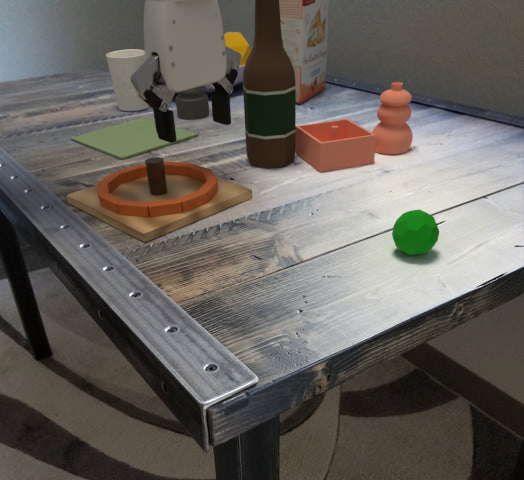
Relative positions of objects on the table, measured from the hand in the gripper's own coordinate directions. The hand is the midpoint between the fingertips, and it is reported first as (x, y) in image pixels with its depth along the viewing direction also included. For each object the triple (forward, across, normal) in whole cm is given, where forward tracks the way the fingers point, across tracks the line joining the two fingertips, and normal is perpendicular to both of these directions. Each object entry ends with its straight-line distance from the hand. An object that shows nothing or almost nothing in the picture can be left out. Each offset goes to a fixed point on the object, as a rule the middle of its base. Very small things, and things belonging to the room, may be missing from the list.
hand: (195, 131), depth 79 cm
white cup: (+8, -19, -43) cm, 48 cm away
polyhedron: (+8, -3, +34) cm, 35 cm away
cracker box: (+8, -47, -22) cm, 52 cm away
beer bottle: (+8, -14, 0) cm, 16 cm away
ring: (+6, +7, 0) cm, 9 cm away
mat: (+7, -7, -26) cm, 28 cm away
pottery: (+8, -25, +9) cm, 28 cm away
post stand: (+8, +7, 0) cm, 11 cm away
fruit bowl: (+8, -39, -45) cm, 60 cm away
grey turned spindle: (+8, -23, -29) cm, 38 cm away
